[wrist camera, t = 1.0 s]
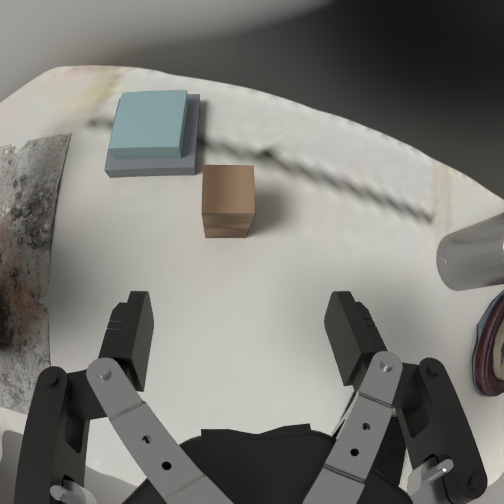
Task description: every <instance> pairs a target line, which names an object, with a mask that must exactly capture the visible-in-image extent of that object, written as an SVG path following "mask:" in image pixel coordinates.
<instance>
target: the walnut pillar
mask: <svg viewBox="0 0 504 504" xmlns="http://www.w3.org/2000/svg"><path fill="white" fill-rule="evenodd" d="M254 215H255V190H254V166H248V165H203V184H202V219H203V225H204V232H205V238H246V236H247V233H248V231H249V228H250V225H251V223H252V220H253V217H254Z"/></svg>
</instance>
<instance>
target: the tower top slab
mask: <svg viewBox="0 0 504 504" xmlns="http://www.w3.org/2000/svg"><path fill="white" fill-rule="evenodd" d="M187 108H188V96H187V90H167V91H141V92H126V93H122V96H121V100H120V103H119V107H118V111H117V114H116V118H115V122H114V126H113V130H112V134H111V138H110V143H109V147H108V149H109V151H110V152H111V154H112V156H113V157H114V159H143V158H181V153H182V145H183V137H184V130H185V122H186V115H187Z"/></svg>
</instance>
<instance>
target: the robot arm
mask: <svg viewBox="0 0 504 504" xmlns="http://www.w3.org/2000/svg"><path fill="white" fill-rule="evenodd" d="M437 265H438V270H439V273H440V276H441V278H442V280H443V281H444V283H445V284H446V285H447V286H448V287H449V288H451V289H453V290H456V291H460V290H467V289H474V288H481V287H487V286H493V285H499V284H504V213H501V214H499V215H496V216H494V217H492V218H489V219H487V220H484V221H482V222H479V223H477V224H475V225H472V226H470V227H467V228H464V229H462V230H459V231H457V232H454V233H452V234H449V235H447V236H445V237H444V238H443V239H442V241H441V242H440V244H439V247H438V251H437ZM324 324H325V329H326V332H327V335H328V338H329V341H330V344H331V347H332V350H333V353H334V357H335V360H336V363H337V366H338V369H339V372H340V375H341V378H342V381H343V385H344V386H349V385H353V388H354V391H353V393H352V395H351V397H350V399H349V401H348V403H347V405H346V407H345V409H344V411H343V413H342V415H341V417H340V419H339V421H338V423H337V425H336V427H335V429H334V430H333V432H332V434H331V435H327V434H325V433H322V432H319V431H315V430H311V428H310V423H309V424H301V425H291V426H283V427H280V428H277V429H274V430H271V431H267V432H264V433H261V434H251V433H246V432H240V431H235V430H230V429H201V436H198V437H194V438H191V439H189V440H187V441H185V442H183V443H181V444H180V445H178V444H177V443H176V441H175V440H174V439H173V438H172V436H171V435H170V434H169V433H168V431H167V430H166V429H165V427H164V426H163V425H162V423H161V422H160V421H159V419H158V418H157V417H156V415H155V414H154V413H153V411H152V410H151V409H150V407H149V406H148V405H147V403H146V402H145V401H143V400H142V399H141V398H140V396H139V395H138V393H137V392H136V391H141V392H144V386H145V379H146V372H147V366H148V359H149V353H150V347H151V341H152V335H153V329H154V318H153V313H152V307H151V302H150V297H149V293H148V291H131V292H130V295H129V298H128V301H127V303H121V302H120V303H119V304H118V305H117V306H116V307H115V308H114V309H113V311H112V314H111V317H110V322H109V323H108V326H107V330H106V333H105V336H104V340H103V343H102V346H101V350H100V353H99V357H98V359H97V360H95V361H93V362H92V363H91V364H90V365H89V367H88V368H87V369H86V370H83V371H78V372H72V373H67V374H66V372H65V371H64V370H63V369H62V368H60V367H57V366H51V367H48V368H46V369H44V370H43V371H42V372H41V373H40V374H39V376H38V378H37V382H36V385H35V389H34V393H33V397H32V400H31V404H30V408H29V413H28V417H27V421H26V426H25V430H24V435H23V440H22V446H21V451H20V458H19V464H18V471H17V478H16V487H15V496H14V504H97V503H96V500H95V498H94V496H93V495H92V494H91V493H90V492H89V491H87V490H86V489H84V476H85V462H86V451H87V441H88V433H89V425H90V420H92V419H98V418H103V417H108V418H109V420H110V422H111V424H112V426H113V427H114V429H115V431H116V432H117V434H118V435H119V437H120V439H121V440H122V442H123V443H124V445H125V446H126V448H127V449H128V451H129V452H130V454H131V455H132V457H133V458H134V460H135V461H136V463H137V464H138V465H139V467H140V468H141V470H142V471H143V472H144V474H145V475H146V476H147V478H146V479H145V480H144V481H143V483H142V484H141V485H140V486H139V487H138V488H137V489H136V490H135V491H134V492H133V493H132V494H131V495H130V496H129V497H128V498H127V499H126V500H125V501H124V502H123V503H122V504H466V503H468V502H470V501H472V500H474V499H477V498H479V497H480V496H481V495H482V494H483V493H484V492H485V490H486V488H487V482H488V481H487V475H486V472H485V469H484V466H483V463H482V460H481V457H480V454H479V451H478V448H477V445H476V442H475V439H474V437H473V434H472V431H471V429H470V426H469V423H468V421H467V418H466V416H465V413H464V411H463V408H462V406H461V403H460V401H459V399H458V396H457V394H456V392H455V389H454V387H453V385H452V382H451V380H450V378H449V376H448V374H447V371H446V369H445V367H444V366H443V364H442V363H441V362H440V361H438V360H437V359H434V358H425V359H423V360H422V361H421V362H420V364H419V365H415V364H408V363H402V362H401V360H400V359H399V358H398V357H397V356H396V355H395V354H393V353H391V352H388V351H387V349H386V347H385V344H384V342H383V340H382V338H381V336H380V334H379V332H378V329H377V327H375V323H374V321H373V320H372V317H371V315H370V313H369V311H368V309H367V308H366V307H365V306H364V305H363V304H362V303H361V302H355V300H354V298H353V296H352V294H351V292H350V291H334V292H333V293H332V294H331V297H330V301H329V304H328V307H327V311H326V314H325V319H324ZM393 408H395V409H396V413H397V416H398V419H399V422H400V426H401V429H402V432H403V436H404V439H405V443H406V446H407V450H408V454H409V457H410V461H411V465H412V469H413V471H412V472H411V473H410V475H409V477H408V485H407V489H408V491H407V493H406V492H405V491H404V490H403V489H401V488H400V487H398V486H397V485H395V484H394V483H393V482H391V481H390V480H389V479H387V478H386V477H384V476H383V475H382V474H380V473H379V472H378V471H376V470H375V469H374V468H372V467H371V466H372V464H373V461H374V459H375V457H376V454H377V452H378V449H379V447H380V444H381V442H382V439H383V437H384V434H385V431H386V429H387V426H388V423H389V420H390V418H391V415H392V412H393Z"/></svg>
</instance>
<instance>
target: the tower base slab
mask: <svg viewBox="0 0 504 504" xmlns="http://www.w3.org/2000/svg"><path fill="white" fill-rule="evenodd" d="M187 96H188V108H187V115H186V122H185V130H184V137H183V145H182V153H181V158H143V159H114V157H113V156H112V154H111V152H110V151H109V149H108V153H107V159H106V165H105V172H106V173H107V175H108V176H109V177H110V178H116V177H138V176H171V175H195V172H196V154H197V138H198V124H199V111H200V94H188V95H187ZM120 100H121V99H119V102H118V106H117V110H116V114H117V111H118V107H119V103H120ZM115 118H116V115H115ZM114 122H115V119H114ZM113 126H114V123H113ZM112 130H113V128H112ZM111 134H112V133H111Z"/></svg>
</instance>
